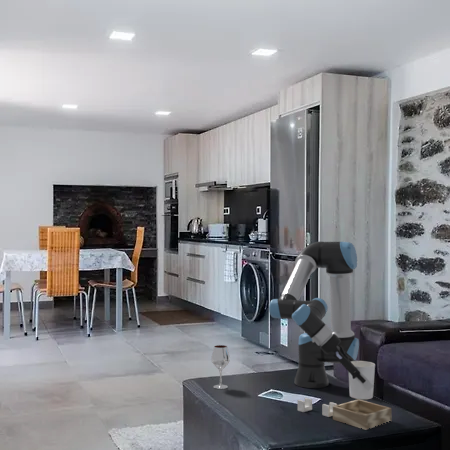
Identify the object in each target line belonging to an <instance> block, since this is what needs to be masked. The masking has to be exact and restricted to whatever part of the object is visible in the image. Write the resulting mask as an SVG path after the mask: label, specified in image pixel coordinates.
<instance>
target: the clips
mask: <svg viewBox="0 0 450 450" xmlns="http://www.w3.org/2000/svg"><path fill="white" fill-rule="evenodd" d="M336 405H338V404H337V403H335V402H333V401H329V403H328V404H326V403H323V404H322V406H321V407H322V409H321V410H322V412H321V413H322V416H325V417H328V418H329V417H333V406H336ZM312 410H313V399H312V398H309V397H305V398H304V400H303V399H297V411H298V412H302V413H305V412H308V411H312Z"/></svg>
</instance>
